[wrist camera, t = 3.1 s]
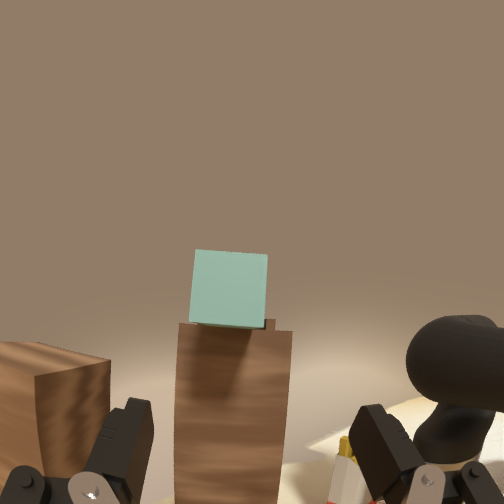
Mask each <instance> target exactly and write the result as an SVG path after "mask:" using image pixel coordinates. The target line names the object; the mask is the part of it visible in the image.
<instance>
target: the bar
mask: <svg viewBox="0 0 504 504" xmlns="http://www.w3.org/2000/svg"><path fill="white" fill-rule="evenodd" d="M267 258H268V255H264V254H250V253H237V252H224V251H210V250H196V253H195V263H194V271H193V282H192V291H191V302H190V313H189V322H193V323H197V324H201V325H206V326H215V327H227V328H241V329H257V328H263V327H264V313H265V296H266V278H267V277H266V276H267Z"/></svg>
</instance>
